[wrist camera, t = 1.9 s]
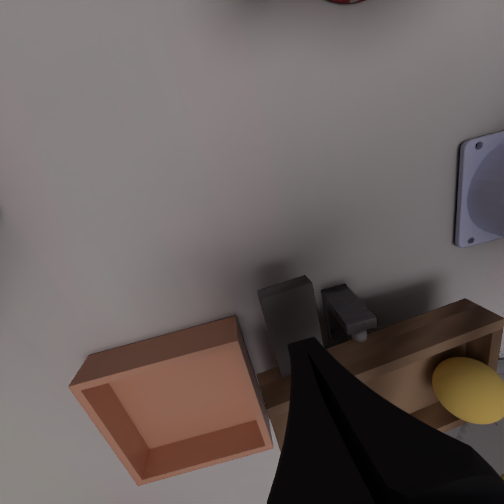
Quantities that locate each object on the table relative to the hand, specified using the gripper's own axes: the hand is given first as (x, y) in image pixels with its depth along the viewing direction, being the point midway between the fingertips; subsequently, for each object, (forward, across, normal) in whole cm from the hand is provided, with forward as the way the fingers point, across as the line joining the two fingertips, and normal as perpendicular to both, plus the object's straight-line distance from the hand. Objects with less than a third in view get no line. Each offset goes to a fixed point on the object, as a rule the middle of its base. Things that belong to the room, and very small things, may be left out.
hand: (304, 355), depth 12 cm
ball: (+2, -11, +8) cm, 14 cm away
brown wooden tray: (+5, -5, +6) cm, 9 cm away
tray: (+8, +10, +8) cm, 15 cm away
